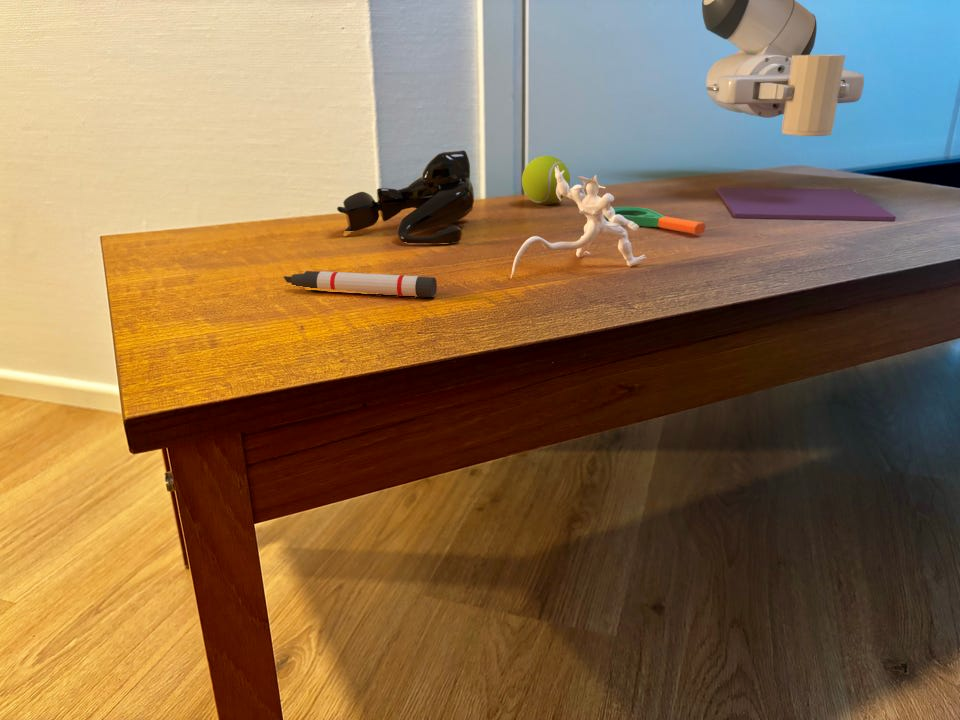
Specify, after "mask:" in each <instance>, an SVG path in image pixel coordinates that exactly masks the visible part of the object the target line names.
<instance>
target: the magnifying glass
mask: <svg viewBox="0 0 960 720" xmlns="http://www.w3.org/2000/svg"><path fill="white" fill-rule="evenodd" d="M612 208H613V209H614V210H615V215H617V214H620V215H622V216H623V217H624V218H626V219H628V220H630V221H632V222H634V223H635V224H637V225H638V226H639V227H651V228H660V229H664V230H669V231H674V232H681V233H687V234H691V235H701V234H703V233H704V232H705V230H706V225H705V222H702V221H698V220H697V221H696V220H690V219H685V218H679V217H678V218H677V217H672V216H666V215H663V214H661V213H660V212H657V211H654V210H653V209H650V208H646V207H638V206H614V207H613V206H612ZM604 218H605V220H606V221H608V222H610V221H609V220H608V219H607V218H606V217H605V216H604Z"/></svg>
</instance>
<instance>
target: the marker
mask: <svg viewBox="0 0 960 720" xmlns="http://www.w3.org/2000/svg"><path fill="white" fill-rule="evenodd" d="M283 279H284V280H285V282H286V283H287V284H288V283H289V284H291V286H292V285H296V286H303V287H310V288H321V289H333V290H334V289H335V290H346V291H356V292H367V293H378V294H388V295H389V294H390V295H401V296H415V297H414V298H416V297H417V296H418V298H424V297H433V296H434V295H435V294H436V295H437V289H438V283H437V279H436V277H434V276H433V277H432V276H418V275H404V274H403V275H402V274H382V273H363V272H345V271H344V272H342V271H326V270H325V271H324V270H323V271H314V270H306V271H305V272H304V273H293V274H292V275H291V276H286V275H285V276H283ZM416 295H417V296H416ZM436 295H435V296H436Z"/></svg>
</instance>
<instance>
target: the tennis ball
mask: <svg viewBox="0 0 960 720" xmlns="http://www.w3.org/2000/svg"><path fill="white" fill-rule="evenodd" d="M557 165H558V167H559V171H560V172H562V171H563V170H564V173H563V174H562V175H563V178H564V180H565V181H566V182H567V183H568V185H569V186H571V185H570V184H571V174H570V171H569V168H568V167H567V165H566V164H565V163H564V162H563V161H562V160H561V159H559V158H558V157H555V156H552V155H541V156H537V157H535V158H533V159H531V161H529V162H528V164H527V165H526V166H525V168H524V170H523V172H522V176H521V185H522V186H521V187H522V189H523V192H524V194H525V195H526V196H527V198H528V199H529V200H530V201H532V202H534V203H535V204H538V205H543V206H548V205H553V204H555V203H557V202H559V201H560V200H559V199H558V197H557V194H556V188H557V179H556V177H555V174H556V173H555V167H556V168H557ZM557 170H558V169H557ZM564 197H565V196H563V195H561V200H562V199H563V198H564Z"/></svg>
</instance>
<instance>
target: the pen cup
mask: <svg viewBox="0 0 960 720" xmlns="http://www.w3.org/2000/svg"><path fill="white" fill-rule="evenodd" d="M845 60H846V55H845V54H810V55H792V60H791V67H790V74H789V81H788V85H794V91H793V98H792V99H786V102H785V109H784V114H783V117H782V124H781V134H782V135H789V136H795V137H796V136H799V137H826V136H827V137H828V136H831V135H832V134H833V129H834V124H835V120H836V113H837V106H838V103H837V102H838V96H839V90H840V84H841V78H842V72H843V70H844V67H845Z"/></svg>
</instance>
